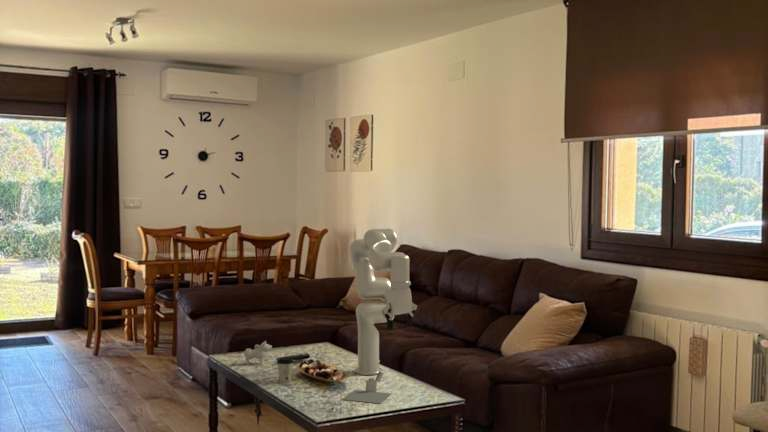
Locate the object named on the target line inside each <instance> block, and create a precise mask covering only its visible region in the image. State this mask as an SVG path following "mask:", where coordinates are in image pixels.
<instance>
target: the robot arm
mask: <svg viewBox="0 0 768 432" xmlns="http://www.w3.org/2000/svg"><path fill="white" fill-rule="evenodd" d="M396 233H397V232H395V231H394V230H393V229H391V228H371V229H369V230H367V231H366V232H365V233H364V234H363V238H360V239H354V240H353V241H352V242H351V243H350V246H349V254H350V259H351V262H352V264H353V268H354V272H355V282H356V290H357V291H356V292H357V295H358V298H359V299H362V300H374V299H375V300H377V299H379V301H366V302H361V303H359V304H358V305H357V306H356V308H355V316H356V323H357V367H355V368H354V373H355V374H357V375H361V376H362V375H363V376H377V375H378V373H379V371H381V372H383V368H382V367H380V362H381V360H380V333H379V330H378V328H376V326H375V324H380V323H386V329H387V330H390V331H393V330H394V318H395V316H399V315H406V316H405V326H406V327H409V328H412V327H413V317H415V314H416V313H417V311H416V310H417V309H418V305H417V304H415V303H414V302H413V299H412V290H411V288H410V286H411V285H412V283H411V281H410V257H409V255H408V254H405V253H404V252H400V251H394V249H395V247H397V243H398V236H397V234H396ZM392 251H393V252H392ZM375 271H377V272H390V279H389V278H387V277H376V275H375Z"/></svg>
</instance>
